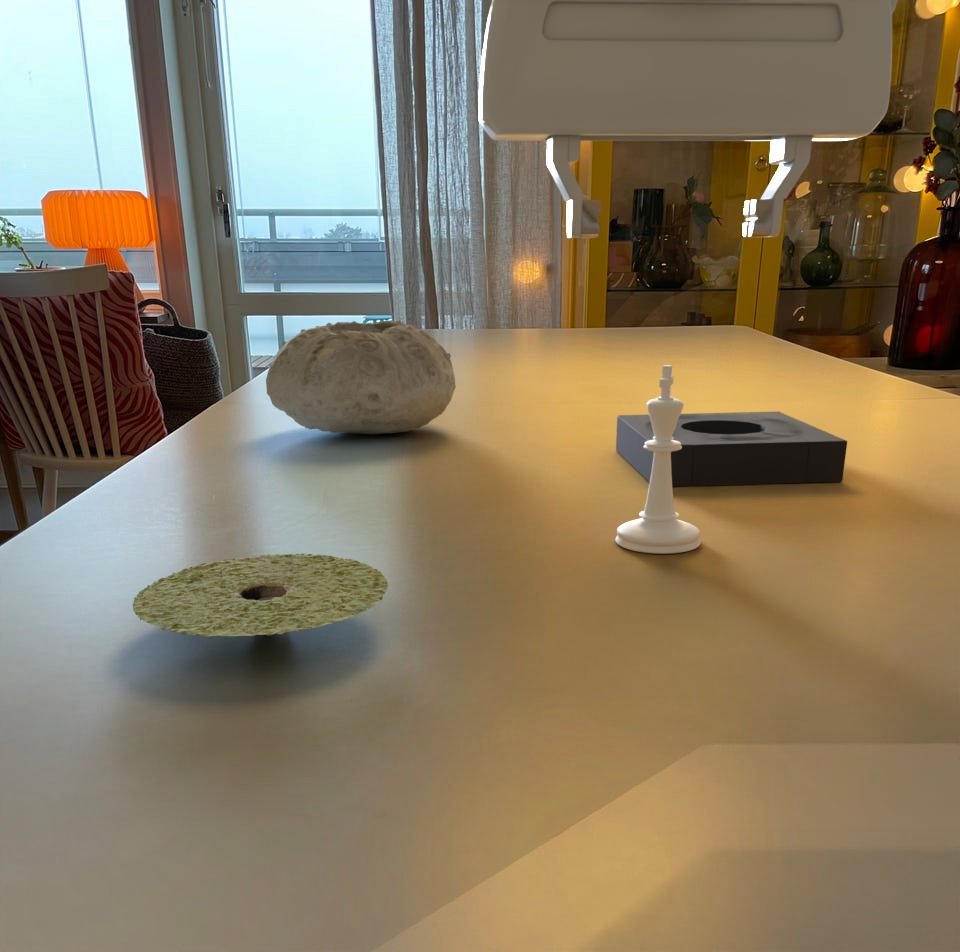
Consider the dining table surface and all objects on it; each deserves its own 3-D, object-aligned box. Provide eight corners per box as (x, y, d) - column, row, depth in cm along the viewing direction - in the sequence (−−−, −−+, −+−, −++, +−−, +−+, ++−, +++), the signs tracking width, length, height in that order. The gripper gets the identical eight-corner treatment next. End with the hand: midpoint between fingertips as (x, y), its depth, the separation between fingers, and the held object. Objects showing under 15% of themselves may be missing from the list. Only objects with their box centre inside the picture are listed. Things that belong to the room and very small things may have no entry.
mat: (440, 625, 44) (439, 585, 44) (226, 703, 37) (220, 656, 36) (296, 574, 52) (293, 539, 51) (94, 631, 44) (87, 590, 44)
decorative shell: (452, 447, 85) (449, 328, 81) (251, 449, 86) (239, 331, 82) (460, 415, 102) (458, 315, 98) (292, 417, 102) (283, 317, 98)
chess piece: (606, 549, 55) (612, 369, 52) (625, 528, 60) (632, 360, 56) (693, 557, 54) (705, 371, 50) (706, 534, 58) (719, 362, 54)
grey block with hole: (775, 446, 84) (779, 411, 82) (842, 482, 71) (847, 440, 69) (615, 450, 83) (617, 415, 82) (653, 487, 70) (655, 445, 69)
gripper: (877, -59, 49) (841, 237, 54) (474, -64, 48) (476, 239, 53) (940, -101, 43) (893, 235, 48) (482, -108, 42) (484, 237, 47)
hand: (672, 237), depth 51 cm, fingers open, 8 cm apart
